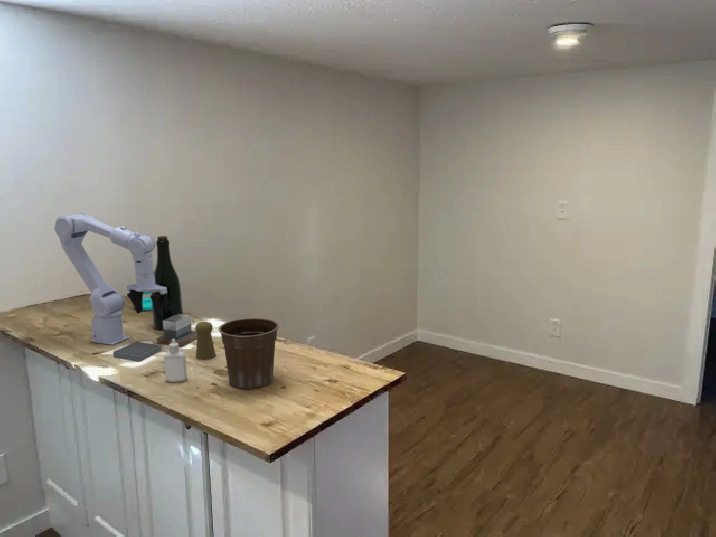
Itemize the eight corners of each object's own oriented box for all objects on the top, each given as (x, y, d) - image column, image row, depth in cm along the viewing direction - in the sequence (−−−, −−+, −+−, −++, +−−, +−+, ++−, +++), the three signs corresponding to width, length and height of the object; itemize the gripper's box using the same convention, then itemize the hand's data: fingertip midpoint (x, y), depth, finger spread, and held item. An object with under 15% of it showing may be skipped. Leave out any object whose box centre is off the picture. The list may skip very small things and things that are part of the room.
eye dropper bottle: (178, 384, 156) (175, 343, 154) (163, 380, 159) (160, 340, 156) (189, 378, 160) (186, 338, 158) (174, 375, 163) (171, 335, 160)
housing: (164, 337, 188) (162, 320, 186) (179, 330, 195) (178, 313, 194) (176, 339, 186) (175, 322, 184) (191, 332, 193) (190, 315, 192)
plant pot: (230, 369, 167) (227, 316, 164) (284, 369, 167) (283, 317, 163) (214, 392, 151) (211, 335, 148) (274, 393, 151) (273, 336, 147)
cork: (210, 360, 173) (208, 326, 171) (192, 359, 175) (189, 325, 172) (218, 353, 179) (217, 320, 177) (201, 352, 180) (199, 319, 178)
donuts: (144, 280, 232) (164, 282, 228) (146, 303, 234) (165, 306, 230) (126, 285, 223) (146, 288, 219) (128, 310, 225) (149, 312, 221)
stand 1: (113, 357, 176) (113, 351, 175) (136, 346, 185) (136, 340, 184) (139, 361, 172) (139, 355, 172) (161, 350, 182) (161, 344, 181)
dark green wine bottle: (147, 327, 204) (140, 236, 197) (171, 320, 213) (165, 233, 205) (165, 332, 198) (158, 239, 191) (190, 325, 207) (184, 235, 200)
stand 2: (157, 343, 188) (156, 337, 188) (176, 333, 197) (176, 328, 197) (181, 347, 185) (181, 341, 184) (200, 337, 194) (200, 331, 193)
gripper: (118, 274, 181) (122, 315, 184) (154, 277, 176) (158, 319, 179) (133, 269, 188) (137, 309, 191) (169, 272, 183) (173, 312, 186)
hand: (149, 313), depth 186 cm, fingers open, 7 cm apart
